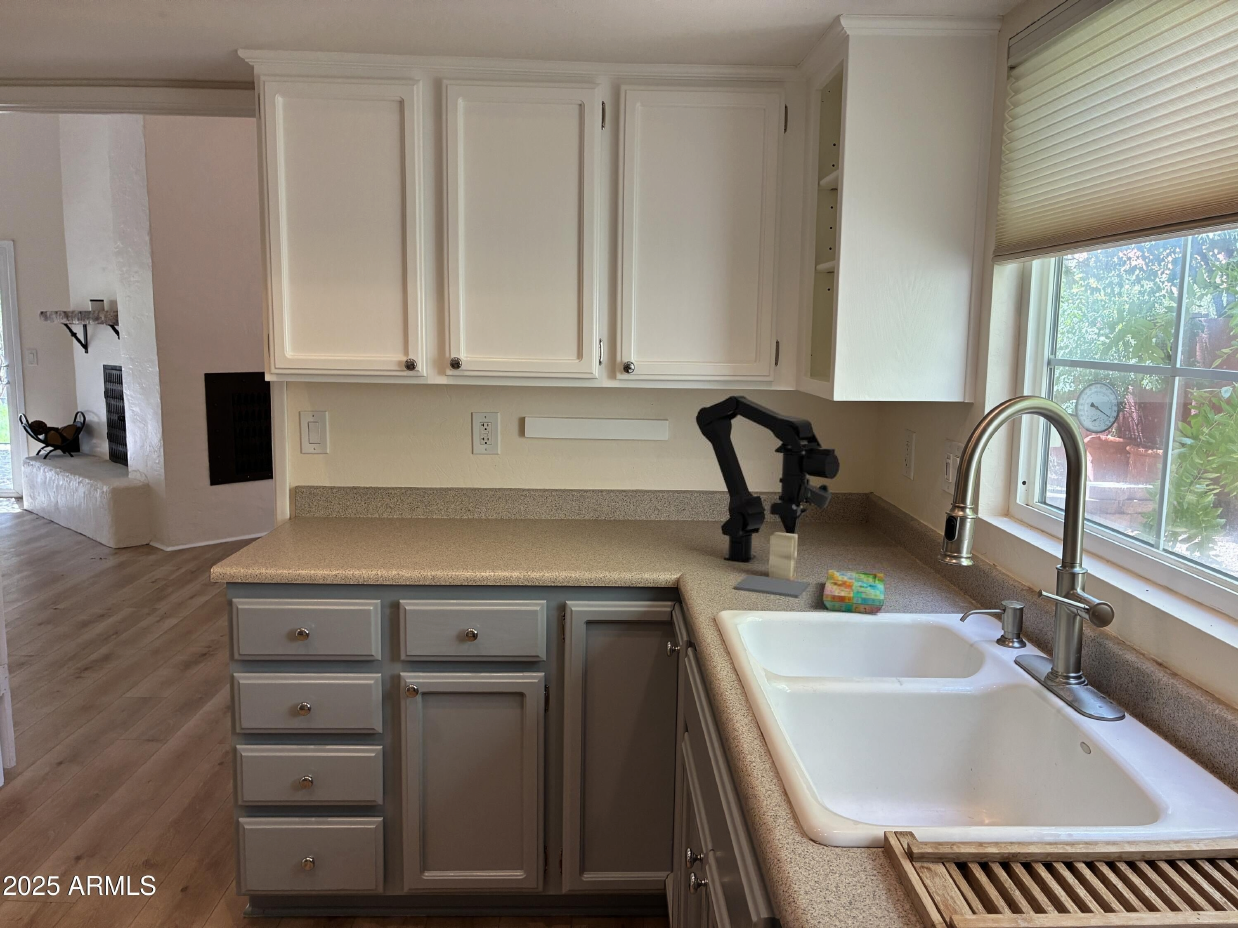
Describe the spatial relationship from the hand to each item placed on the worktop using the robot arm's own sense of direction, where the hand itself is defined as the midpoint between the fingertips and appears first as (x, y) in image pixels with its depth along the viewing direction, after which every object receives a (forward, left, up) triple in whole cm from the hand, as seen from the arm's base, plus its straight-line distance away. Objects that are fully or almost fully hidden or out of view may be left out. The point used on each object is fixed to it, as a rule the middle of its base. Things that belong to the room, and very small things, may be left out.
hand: (791, 539), depth 217 cm
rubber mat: (+16, 0, -8) cm, 17 cm away
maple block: (+7, 0, -8) cm, 11 cm away
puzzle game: (+17, +18, -8) cm, 26 cm away
